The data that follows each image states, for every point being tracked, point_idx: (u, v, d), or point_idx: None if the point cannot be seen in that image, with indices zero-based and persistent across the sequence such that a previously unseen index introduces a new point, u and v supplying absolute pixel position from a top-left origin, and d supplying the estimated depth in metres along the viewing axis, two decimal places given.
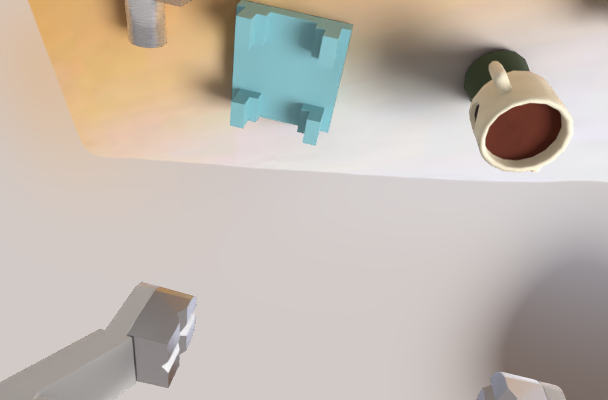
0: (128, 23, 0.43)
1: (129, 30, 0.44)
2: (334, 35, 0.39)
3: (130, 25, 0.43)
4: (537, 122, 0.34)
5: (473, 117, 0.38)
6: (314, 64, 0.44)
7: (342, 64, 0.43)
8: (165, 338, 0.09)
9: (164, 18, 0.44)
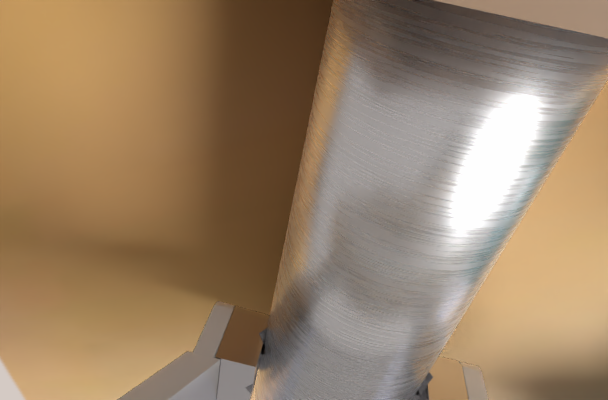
0: (281, 394, 0.09)
1: None
2: None
3: None
4: None
5: None
6: None
7: None
8: (252, 360, 0.09)
9: None
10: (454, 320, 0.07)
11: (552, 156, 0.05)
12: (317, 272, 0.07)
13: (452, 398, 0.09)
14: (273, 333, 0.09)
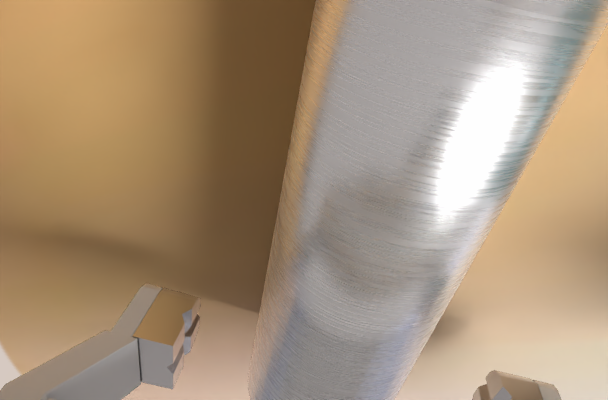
0: (266, 369, 0.10)
1: (265, 390, 0.10)
2: None
3: (275, 384, 0.09)
4: None
5: None
6: None
7: None
8: (170, 339, 0.09)
9: None
10: (432, 306, 0.07)
11: (523, 135, 0.05)
12: (296, 244, 0.07)
13: None
14: (262, 309, 0.09)
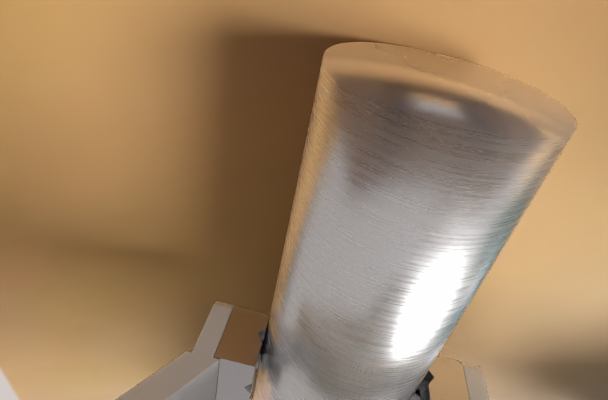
0: None
1: None
2: None
3: None
4: None
5: None
6: None
7: None
8: (251, 360, 0.09)
9: None
10: None
11: (429, 361, 0.08)
12: None
13: (453, 398, 0.09)
14: None
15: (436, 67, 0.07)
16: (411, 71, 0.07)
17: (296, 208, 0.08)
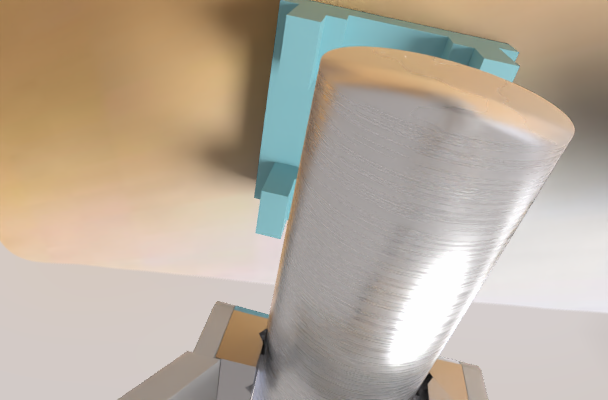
0: None
1: None
2: (502, 58, 0.18)
3: None
4: None
5: None
6: None
7: None
8: (252, 360, 0.09)
9: None
10: None
11: (427, 367, 0.08)
12: None
13: (452, 398, 0.09)
14: None
15: (434, 72, 0.07)
16: (408, 76, 0.07)
17: (293, 213, 0.08)
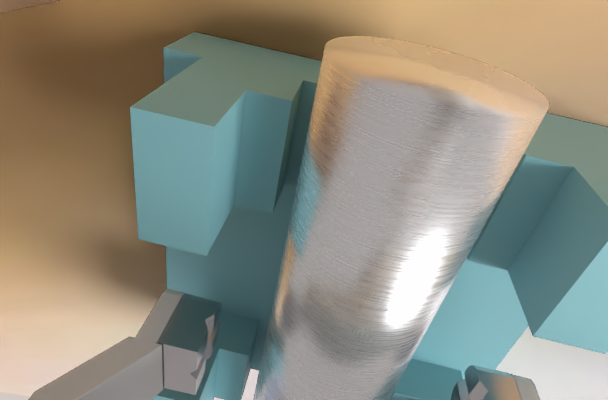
0: None
1: None
2: None
3: None
4: None
5: None
6: None
7: None
8: (195, 346, 0.09)
9: None
10: None
11: (420, 329, 0.09)
12: (283, 380, 0.11)
13: None
14: None
15: (427, 58, 0.08)
16: (403, 61, 0.07)
17: (300, 185, 0.08)
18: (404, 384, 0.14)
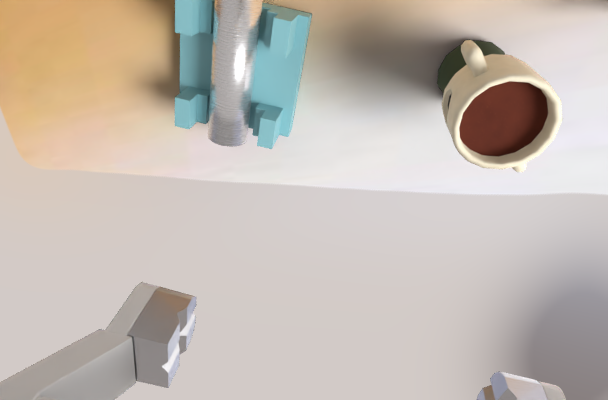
0: (212, 121, 0.40)
1: (212, 128, 0.40)
2: (287, 18, 0.34)
3: (214, 124, 0.40)
4: (519, 108, 0.29)
5: (446, 109, 0.33)
6: (269, 57, 0.39)
7: (300, 57, 0.39)
8: (165, 338, 0.09)
9: (249, 115, 0.41)
10: (242, 93, 0.38)
11: (245, 56, 0.36)
12: (214, 82, 0.37)
13: None
14: (209, 106, 0.40)
15: None
16: None
17: None
18: (260, 107, 0.41)
